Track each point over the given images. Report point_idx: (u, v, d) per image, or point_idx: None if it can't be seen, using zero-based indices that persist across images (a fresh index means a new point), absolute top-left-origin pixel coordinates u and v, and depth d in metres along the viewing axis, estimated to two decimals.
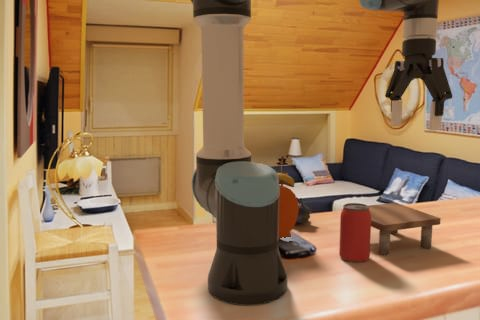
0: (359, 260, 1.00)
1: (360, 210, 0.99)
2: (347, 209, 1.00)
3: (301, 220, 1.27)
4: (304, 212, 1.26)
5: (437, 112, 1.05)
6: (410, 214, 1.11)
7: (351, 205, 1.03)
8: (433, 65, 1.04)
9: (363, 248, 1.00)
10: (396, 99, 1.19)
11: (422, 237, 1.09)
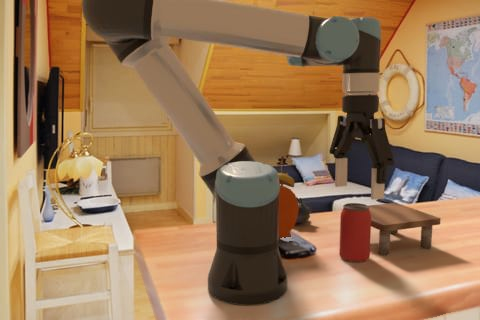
0: (359, 260, 1.00)
1: (360, 210, 0.99)
2: (347, 209, 1.00)
3: (301, 220, 1.27)
4: (304, 212, 1.26)
5: (378, 180, 0.93)
6: (410, 214, 1.11)
7: (351, 205, 1.03)
8: (373, 127, 0.92)
9: (363, 248, 1.00)
10: (340, 157, 1.07)
11: (422, 237, 1.09)
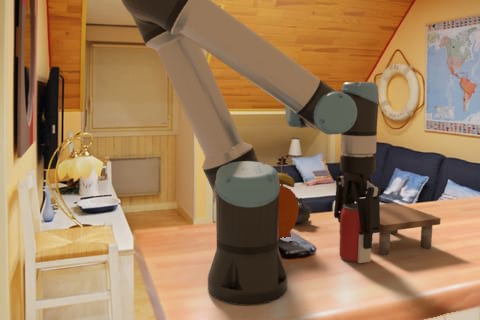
0: None
1: None
2: (347, 209, 1.00)
3: (301, 220, 1.27)
4: (304, 212, 1.26)
5: (365, 245, 0.98)
6: (410, 214, 1.11)
7: (351, 205, 1.03)
8: (368, 195, 0.95)
9: None
10: None
11: (422, 237, 1.09)
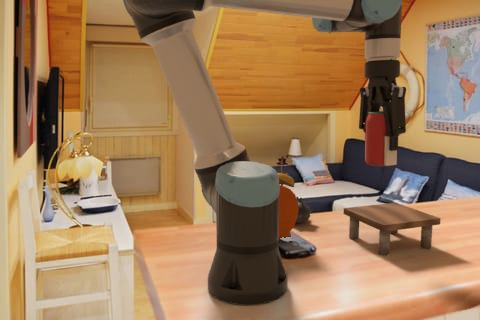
0: None
1: None
2: (373, 114, 1.02)
3: (301, 219, 1.27)
4: (304, 211, 1.26)
5: (391, 147, 1.00)
6: (410, 214, 1.11)
7: (376, 112, 1.05)
8: (393, 95, 0.97)
9: None
10: None
11: (422, 237, 1.09)
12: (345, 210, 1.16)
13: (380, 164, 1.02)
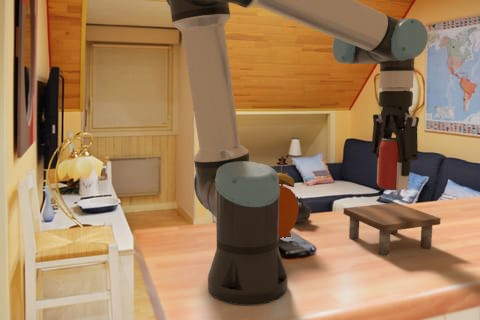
0: None
1: None
2: (386, 141, 1.08)
3: (301, 219, 1.28)
4: (304, 211, 1.27)
5: (403, 173, 1.06)
6: (410, 214, 1.11)
7: (389, 139, 1.11)
8: (407, 124, 1.03)
9: None
10: None
11: (422, 237, 1.09)
12: (345, 210, 1.16)
13: (392, 188, 1.08)
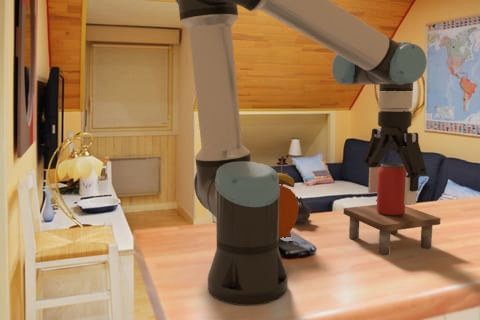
0: (396, 213, 1.09)
1: (397, 167, 1.08)
2: (385, 167, 1.09)
3: (301, 219, 1.28)
4: (304, 211, 1.27)
5: (412, 188, 1.04)
6: (410, 214, 1.11)
7: (387, 164, 1.12)
8: (407, 141, 1.03)
9: (400, 202, 1.09)
10: (373, 166, 1.17)
11: (422, 237, 1.09)
12: (345, 210, 1.16)
13: (391, 214, 1.09)
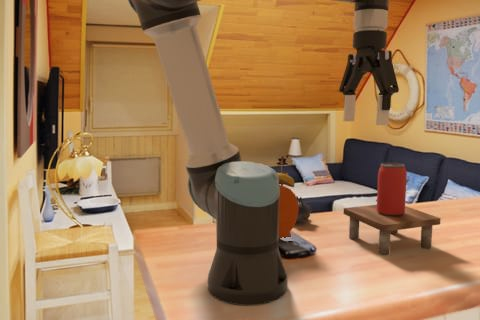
0: (396, 213, 1.09)
1: (397, 167, 1.08)
2: (385, 167, 1.09)
3: (301, 219, 1.28)
4: (304, 211, 1.27)
5: (384, 106, 1.01)
6: (410, 214, 1.11)
7: (387, 164, 1.12)
8: (380, 58, 1.01)
9: (400, 202, 1.09)
10: (349, 94, 1.15)
11: (422, 237, 1.09)
12: (345, 210, 1.16)
13: (391, 214, 1.09)
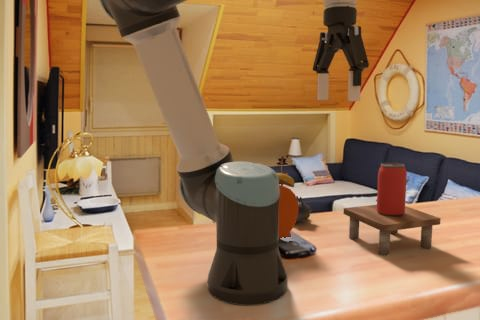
0: (396, 213, 1.09)
1: (397, 167, 1.08)
2: (385, 167, 1.09)
3: (301, 218, 1.28)
4: (304, 211, 1.27)
5: (355, 82, 1.01)
6: (410, 214, 1.11)
7: (387, 164, 1.12)
8: (350, 34, 1.01)
9: (400, 202, 1.09)
10: (322, 72, 1.15)
11: (422, 237, 1.09)
12: (345, 210, 1.16)
13: (391, 214, 1.09)
